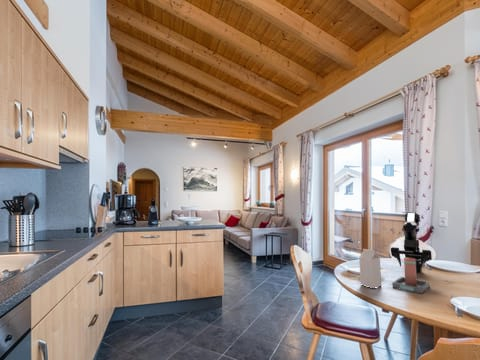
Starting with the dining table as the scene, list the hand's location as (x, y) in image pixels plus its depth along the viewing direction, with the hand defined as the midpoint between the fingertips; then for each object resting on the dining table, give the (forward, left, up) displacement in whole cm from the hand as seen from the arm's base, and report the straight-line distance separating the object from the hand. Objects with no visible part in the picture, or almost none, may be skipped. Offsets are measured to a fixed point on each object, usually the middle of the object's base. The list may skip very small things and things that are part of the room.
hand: (410, 267), depth 140 cm
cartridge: (+1, -5, -8) cm, 10 cm away
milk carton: (-14, -17, -9) cm, 24 cm away
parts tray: (+1, -5, -9) cm, 11 cm away
